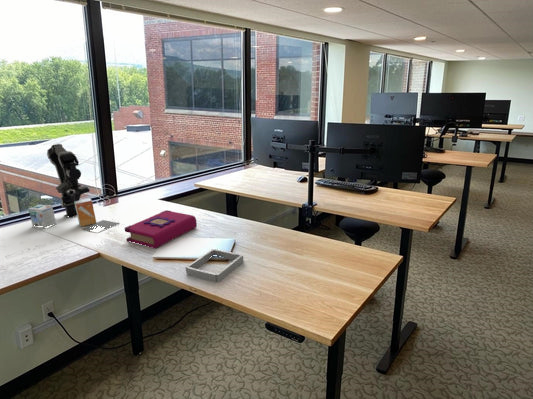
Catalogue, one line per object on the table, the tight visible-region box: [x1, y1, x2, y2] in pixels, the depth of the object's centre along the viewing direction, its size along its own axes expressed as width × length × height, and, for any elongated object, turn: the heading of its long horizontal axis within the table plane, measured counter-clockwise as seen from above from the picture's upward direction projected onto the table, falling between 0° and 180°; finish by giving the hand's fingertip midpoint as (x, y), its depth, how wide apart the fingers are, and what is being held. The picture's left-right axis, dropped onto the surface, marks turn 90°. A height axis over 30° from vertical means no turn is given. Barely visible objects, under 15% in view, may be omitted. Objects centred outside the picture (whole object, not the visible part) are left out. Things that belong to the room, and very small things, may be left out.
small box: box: [74, 198, 97, 227], centre depth 207 cm, size 8×6×13 cm
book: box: [124, 209, 198, 249], centre depth 189 cm, size 21×28×8 cm
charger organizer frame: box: [185, 248, 244, 283], centre depth 154 cm, size 16×18×3 cm
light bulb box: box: [28, 204, 57, 227], centre depth 209 cm, size 11×7×11 cm, turn 68°
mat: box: [81, 219, 120, 232], centre depth 205 cm, size 13×14×1 cm
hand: (76, 204), depth 209 cm, fingers closed
